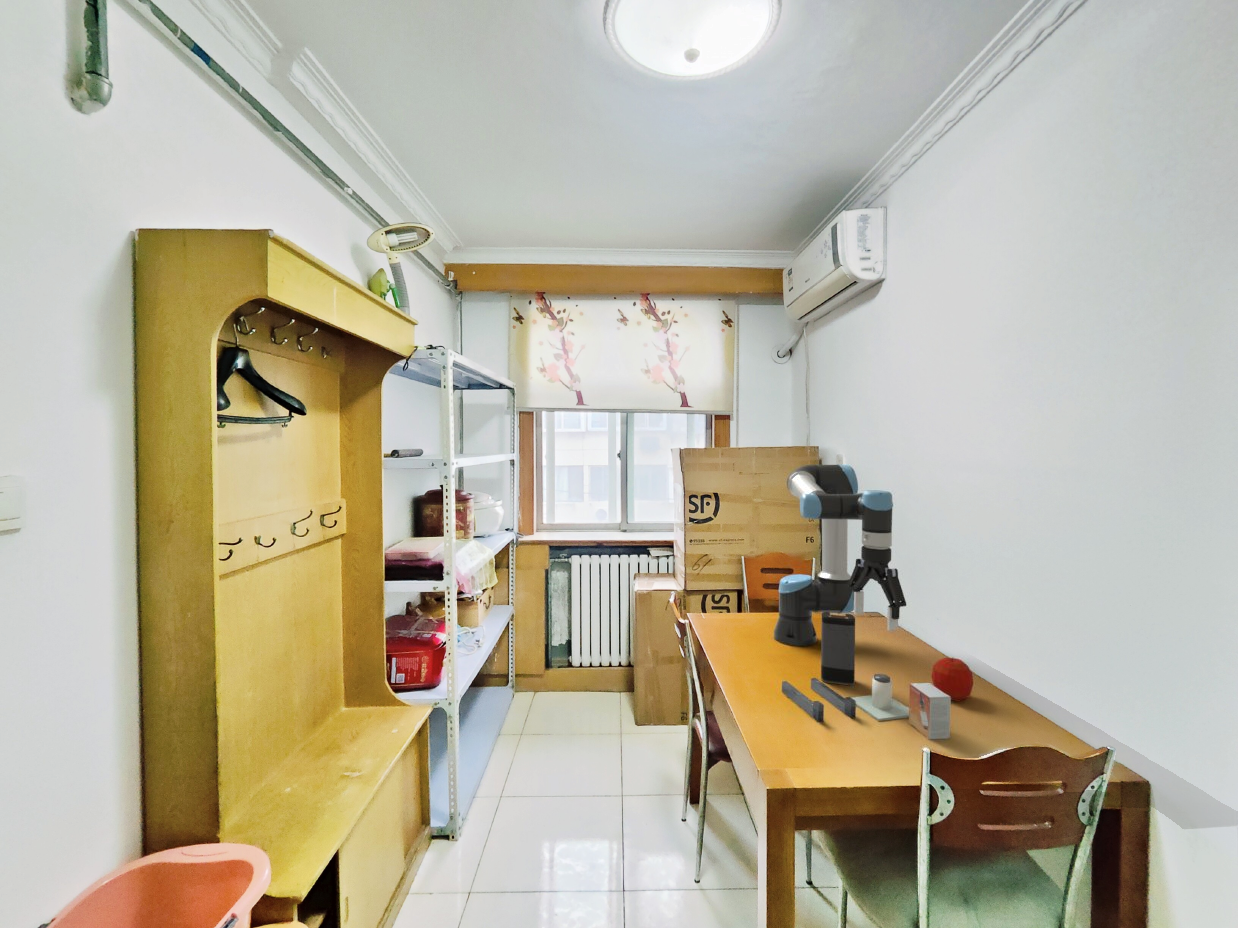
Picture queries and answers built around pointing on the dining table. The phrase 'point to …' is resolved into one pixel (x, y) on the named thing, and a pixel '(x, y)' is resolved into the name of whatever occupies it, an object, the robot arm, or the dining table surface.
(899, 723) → the dining table surface
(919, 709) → the small box
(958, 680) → the apple
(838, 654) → the electronic device
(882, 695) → the white cylindrical piece
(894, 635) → the dining table surface
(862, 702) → the pad
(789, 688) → the channel
